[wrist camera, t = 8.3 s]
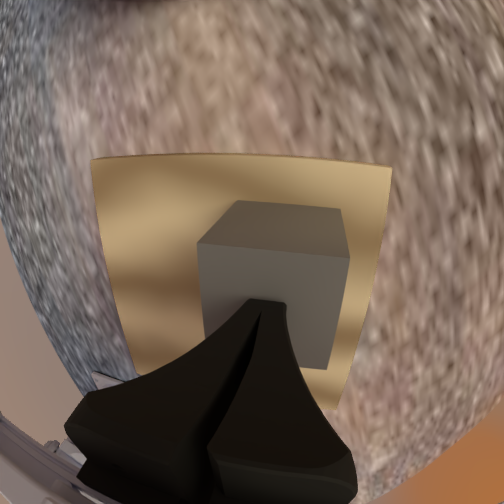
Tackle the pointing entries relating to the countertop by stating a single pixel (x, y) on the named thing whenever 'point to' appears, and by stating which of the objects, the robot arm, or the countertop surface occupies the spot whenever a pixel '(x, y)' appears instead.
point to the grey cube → (278, 270)
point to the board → (202, 219)
